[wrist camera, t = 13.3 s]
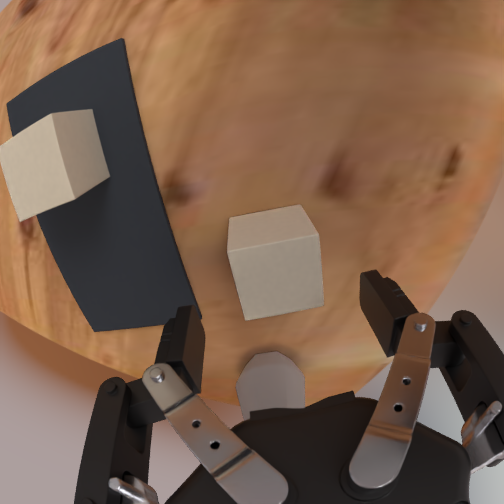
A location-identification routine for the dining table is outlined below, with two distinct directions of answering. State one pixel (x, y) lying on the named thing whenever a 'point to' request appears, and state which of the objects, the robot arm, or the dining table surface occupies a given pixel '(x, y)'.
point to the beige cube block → (275, 262)
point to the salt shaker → (270, 384)
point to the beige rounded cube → (53, 162)
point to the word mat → (110, 201)
